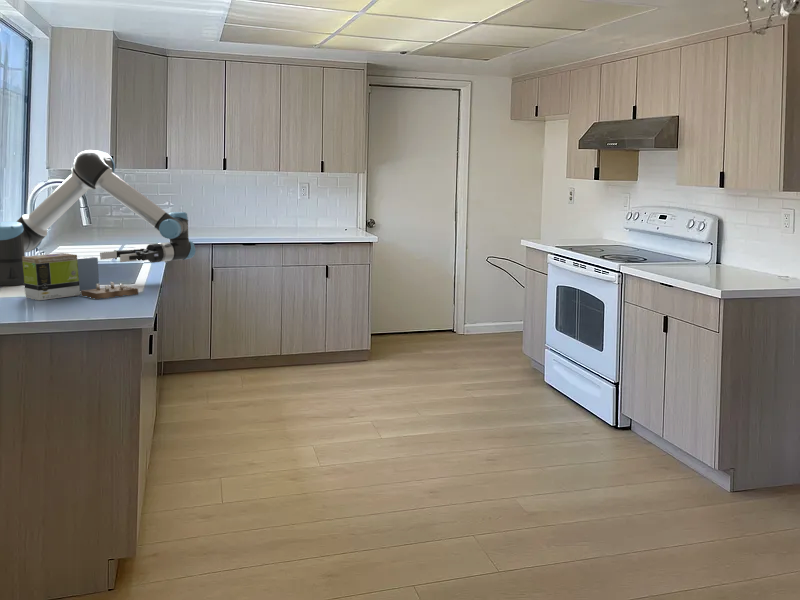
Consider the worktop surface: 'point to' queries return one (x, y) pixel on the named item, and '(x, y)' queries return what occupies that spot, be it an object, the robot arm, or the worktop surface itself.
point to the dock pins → (108, 286)
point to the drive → (88, 272)
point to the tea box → (51, 276)
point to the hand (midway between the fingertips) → (110, 257)
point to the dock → (109, 292)
